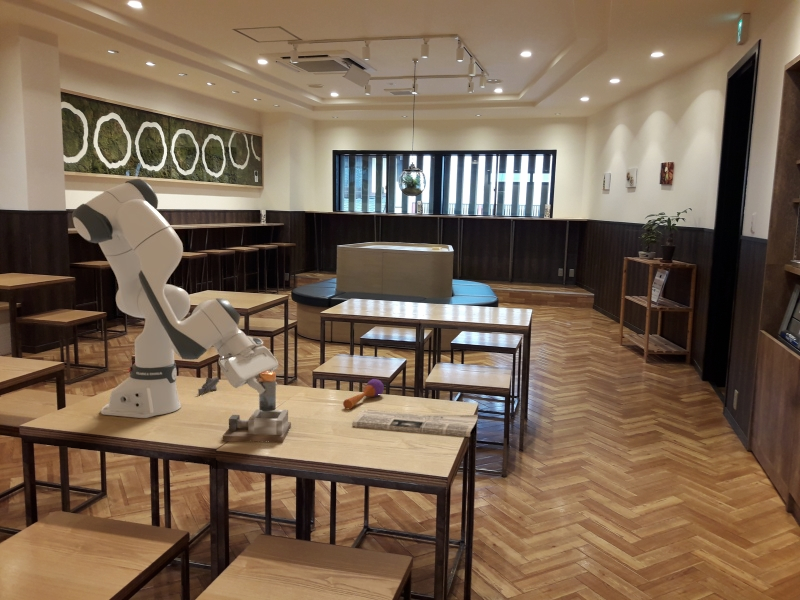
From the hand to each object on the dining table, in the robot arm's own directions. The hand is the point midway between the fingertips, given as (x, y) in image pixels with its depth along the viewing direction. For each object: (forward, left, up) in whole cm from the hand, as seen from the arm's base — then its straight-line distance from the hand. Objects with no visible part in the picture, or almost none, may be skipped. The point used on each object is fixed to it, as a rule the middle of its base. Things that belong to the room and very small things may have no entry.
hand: (269, 389), depth 164 cm
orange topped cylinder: (-1, 0, -5) cm, 6 cm away
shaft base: (-3, +1, -13) cm, 13 cm away
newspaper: (+40, +11, -14) cm, 44 cm away
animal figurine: (-30, +41, -13) cm, 53 cm away
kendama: (+24, +33, -13) cm, 43 cm away
